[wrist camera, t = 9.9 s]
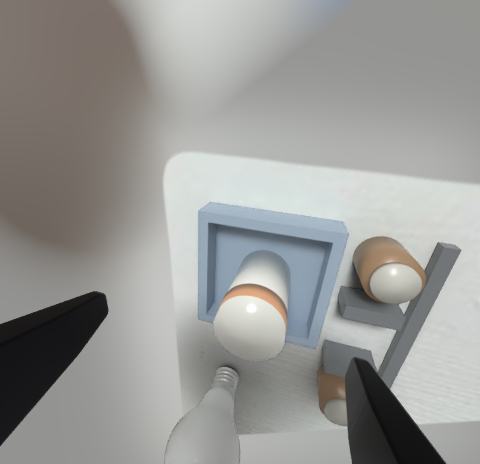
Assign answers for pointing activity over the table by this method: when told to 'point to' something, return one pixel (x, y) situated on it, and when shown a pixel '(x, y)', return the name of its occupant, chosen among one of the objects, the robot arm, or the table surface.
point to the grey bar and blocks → (389, 318)
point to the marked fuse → (255, 308)
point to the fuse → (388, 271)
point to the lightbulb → (208, 427)
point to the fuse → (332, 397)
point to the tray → (281, 242)
